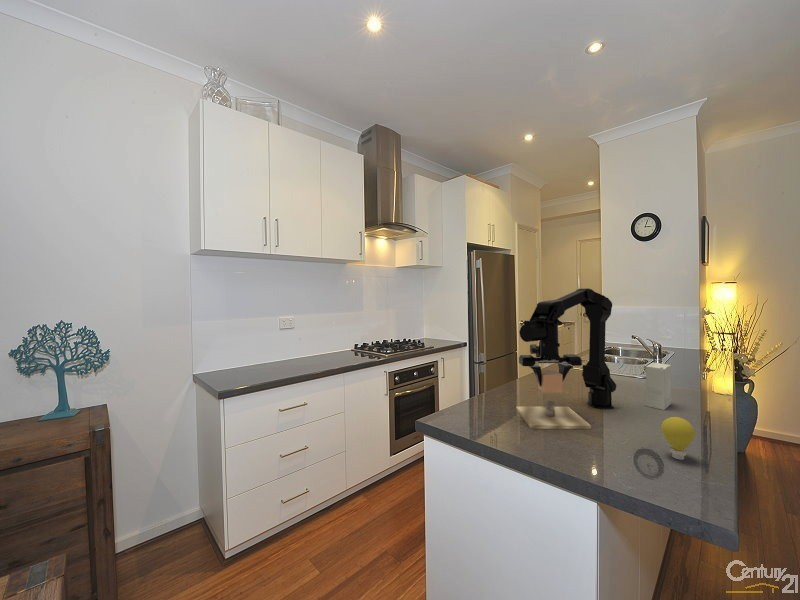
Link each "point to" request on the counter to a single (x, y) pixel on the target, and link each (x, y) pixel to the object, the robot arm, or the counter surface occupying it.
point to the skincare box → (658, 385)
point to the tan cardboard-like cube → (551, 382)
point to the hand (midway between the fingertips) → (550, 385)
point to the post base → (552, 417)
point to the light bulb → (678, 435)
